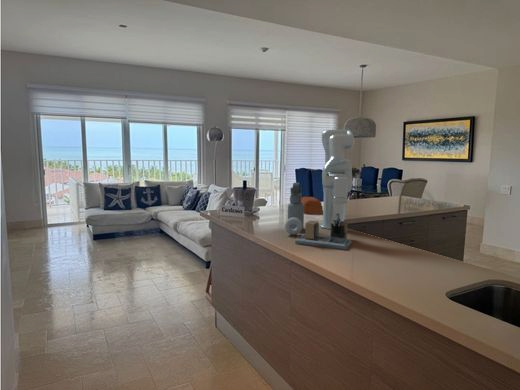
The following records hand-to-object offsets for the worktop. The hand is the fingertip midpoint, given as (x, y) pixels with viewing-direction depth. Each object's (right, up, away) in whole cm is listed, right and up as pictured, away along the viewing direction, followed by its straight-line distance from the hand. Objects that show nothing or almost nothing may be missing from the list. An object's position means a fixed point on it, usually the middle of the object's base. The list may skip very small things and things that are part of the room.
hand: (338, 231), depth 188 cm
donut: (-23, -3, +10) cm, 26 cm away
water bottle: (-21, -1, +25) cm, 33 cm away
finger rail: (-10, -5, -8) cm, 14 cm away
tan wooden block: (0, -4, +1) cm, 4 cm away
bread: (-3, +7, +89) cm, 89 cm away
